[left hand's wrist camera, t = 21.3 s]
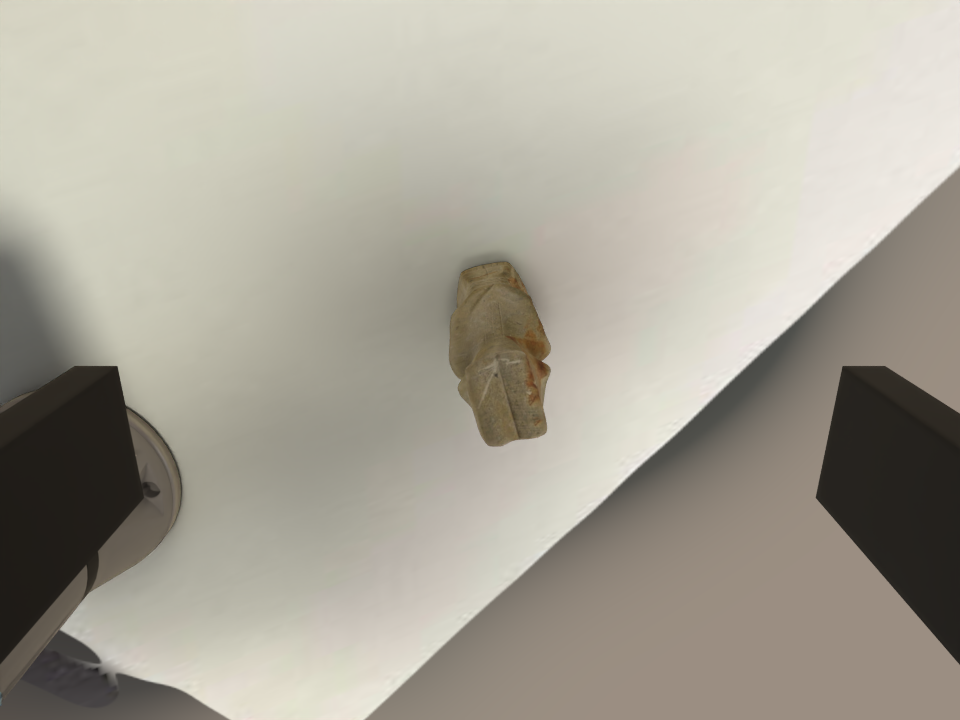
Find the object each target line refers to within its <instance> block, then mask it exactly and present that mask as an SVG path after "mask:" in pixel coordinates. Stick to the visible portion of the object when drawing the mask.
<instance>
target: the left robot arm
mask: <svg viewBox="0 0 960 720" xmlns="http://www.w3.org/2000/svg"><path fill="white" fill-rule="evenodd" d="M816 499H817V500H818V501H819V502H820V503H821V504H822V505H823V507H824V508H825V509H826V510H827V511H828V512H829V514H830V515H831V516H832V517H833V518H834V519H835V521H836V522H837V523H838V524H839V525H840V526H841V528H842V529H843V530H844V531H845V532H846V533H847V534H848V536H849V537H850V538H851V539H852V540H853V541H854V543H855V544H856V545H857V546H858V547H859V548H860V550H861V551H862V552H863V553H864V554H865V555H866V556H867V558H868V559H869V560H870V561H871V562H872V563H873V565H874V566H875V567H876V568H877V569H878V570H879V572H880V573H881V574H882V575H883V576H884V577H885V578H886V580H887V581H888V582H889V583H890V584H891V585H892V587H893V588H894V589H895V590H896V591H897V592H898V594H899V595H900V596H901V597H902V598H903V599H904V601H905V602H906V603H907V604H908V605H909V606H910V607H911V609H912V610H913V611H914V612H915V613H916V614H917V616H918V617H919V618H920V619H921V620H922V621H923V622H924V624H925V625H926V626H927V627H928V628H929V629H930V631H931V632H932V633H933V634H934V635H935V636H936V638H937V639H938V640H939V641H940V642H941V643H942V645H943V646H944V647H945V648H946V649H947V650H948V651H949V653H950V654H951V655H952V656H953V657H954V658H955V660H956V661H957V662H958V663H959V664H960V414H959V413H958V412H956V411H955V410H953V409H952V408H950V407H948V406H947V405H945V404H944V403H942V402H941V401H939V400H937V399H936V398H934V397H933V396H931V395H930V394H928V393H926V392H925V391H923V390H922V389H920V388H918V387H917V386H915V385H914V384H912V383H911V382H909V381H908V380H906V379H904V378H903V377H901V376H900V375H898V374H896V373H895V372H893V371H892V370H890V369H889V368H887V367H885V366H843V367H842V372H841V377H840V382H839V387H838V392H837V396H836V401H835V406H834V411H833V416H832V421H831V426H830V431H829V436H828V440H827V445H826V450H825V455H824V460H823V465H822V470H821V475H820V480H819V485H818V489H817V494H816ZM180 501H181V485H180V478H179V474H178V470H177V467H176V464H175V462H174V460H173V457H172V455H171V453H170V452H169V450H168V448H167V446H166V445H165V444H164V442H163V441H162V439H161V438H160V437H159V436H158V434H157V433H156V432H155V431H154V430H153V429H152V428H151V427H150V426H149V425H148V424H147V423H146V422H145V421H144V420H142V419H141V418H140V417H139V416H138V415H136V414H135V413H133V412H132V411H131V410H129V409H127V408H126V406H125V401H124V396H123V392H122V387H121V382H120V377H119V372H118V367H117V366H74V367H73V368H71V369H70V370H68V371H67V372H65V373H63V374H62V375H60V376H59V377H57V378H56V379H54V380H52V381H51V382H49V383H48V384H46V385H45V386H43V387H41V388H40V389H38V390H37V391H32V392H29V393H26V394H23V395H20V396H18V397H16V398H14V399H12V400H11V401H9V402H7V403H6V404H4V405H3V406H1V407H0V706H1V705H2V704H1V702H2V701H3V700H4V699H5V697H6V696H7V695H8V694H9V692H10V691H11V690H12V688H13V687H14V686H15V685H16V683H17V682H18V681H19V680H20V678H21V677H22V676H23V675H24V673H25V672H26V671H27V670H28V668H29V667H30V666H31V664H32V663H33V662H34V661H35V659H36V658H37V657H38V656H39V654H40V653H41V652H42V651H43V649H44V648H45V647H46V646H47V644H48V643H49V642H50V640H51V639H52V638H53V637H54V636H55V634H56V633H57V632H58V630H59V629H60V628H61V627H62V626H63V624H64V623H65V622H66V621H67V619H68V618H69V617H70V616H71V614H72V613H73V612H74V611H75V609H76V608H77V607H78V605H79V604H80V603H81V602H82V600H83V599H84V598H85V597H86V595H87V594H88V593H89V592H91V591H92V590H94V589H96V588H97V587H99V586H101V585H102V584H104V583H106V582H107V581H109V580H111V579H112V578H114V577H116V576H117V575H119V574H121V573H123V572H124V571H126V570H128V569H129V568H131V567H133V566H134V565H136V564H137V563H139V562H140V561H142V560H143V559H144V558H145V557H146V556H147V555H149V554H150V553H151V552H152V551H153V550H154V549H155V548H156V547H157V546H158V545H159V544H160V542H161V541H162V540H163V538H164V537H165V536H166V534H167V533H168V531H169V530H170V529H171V527H172V525H173V523H174V522H175V520H176V517H177V514H178V511H179V507H180Z"/></svg>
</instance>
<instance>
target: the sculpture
mask: <svg viewBox="0 0 960 720" xmlns="http://www.w3.org/2000/svg"><path fill="white" fill-rule="evenodd" d="M550 350H551V346H550V343H549V341H548V339H547V337H546V335H545V332H544V329H543V326H542V324H541V322H540V320H539V317H538V315H537V312H536V310H535V308H534V305H533V303H532V299H531V297H530V296H529V295H528V293H527V291H526V288H525V286H524V284H523V282H522V281H521V279H520V277H519V275H518V274H517V272H516V271H515V269H514V268H513V267H512V265H511V264H510V263H508V262H497V263H491V264H486V265H481V266H477V267H473V268H470V269H467V270H465V271H463V272H462V273H461V275H460V278H459V284H458V291H457V309H456V310H455V312H454V313H453V315H452V317H451V321H450V346H449V361H450V365H451V368H452V370H453V372H454V373H455V375H456V376H457V377H458V378H459V379H461V382H460V383H459V385H458V391H459V393H460V395H461V397H462V398H463V399H464V400H465V401H466V402H467V403H468V404H469V405H470V406H471V407H472V409H473V412H474V416H475V419H476V422H477V426H478V429H479V432H480V434H481V436H482V438H483V440H484V441H485V442H486V444H487V445H489V446H503V445H505V444H507V443H509V442H511V441H514V440H520V439H531V438H537V437H540V436H542V435H544V434H545V433H546V431H547V424H546V418H545V414H544V410H543V401H544V394H545V387H546V383H547V380H548V377H549V375H550V372H551V369H550V367H549V366H548V365H547V364H545V363H543V362H542V360H543V359H545V358H546V357H547V356H548V355H549V353H550Z"/></svg>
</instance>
